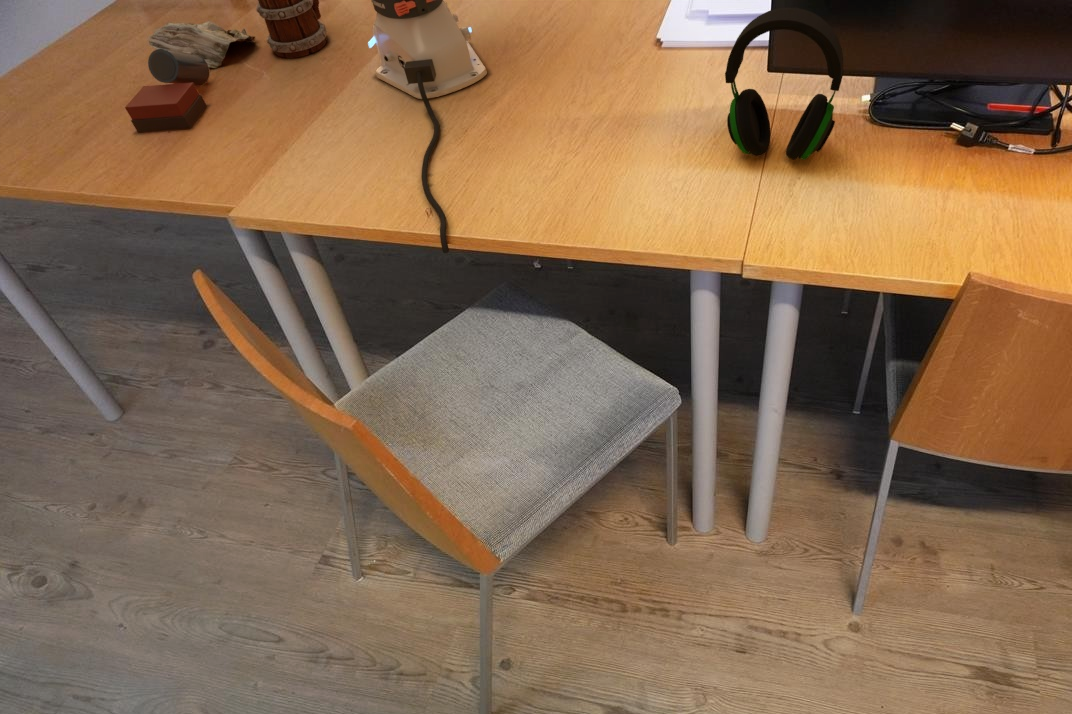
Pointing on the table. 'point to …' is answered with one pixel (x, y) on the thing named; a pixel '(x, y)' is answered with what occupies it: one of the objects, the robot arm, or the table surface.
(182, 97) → the notebooks
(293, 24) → the mug
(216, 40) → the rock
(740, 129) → the headphones
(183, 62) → the cup
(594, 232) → the table surface
